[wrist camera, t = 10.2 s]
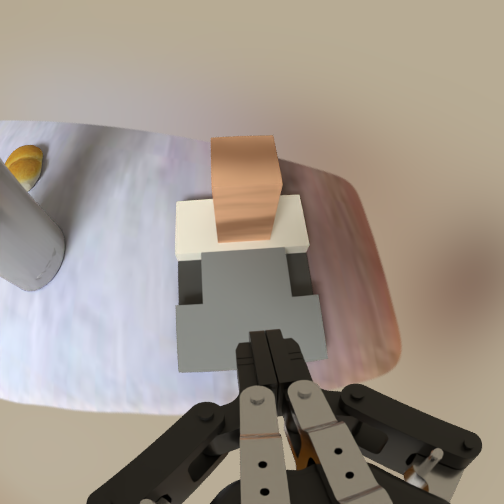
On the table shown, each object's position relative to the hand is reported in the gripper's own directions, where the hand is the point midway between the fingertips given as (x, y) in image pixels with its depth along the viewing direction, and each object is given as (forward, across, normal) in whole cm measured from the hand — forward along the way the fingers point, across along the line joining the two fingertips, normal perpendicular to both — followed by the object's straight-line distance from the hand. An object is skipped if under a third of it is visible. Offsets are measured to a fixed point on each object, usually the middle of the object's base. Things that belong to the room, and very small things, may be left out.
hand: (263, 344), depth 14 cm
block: (+18, 0, -1) cm, 18 cm away
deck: (+13, 0, +6) cm, 14 cm away
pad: (+19, 0, 0) cm, 19 cm away
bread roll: (+29, +32, -8) cm, 44 cm away
